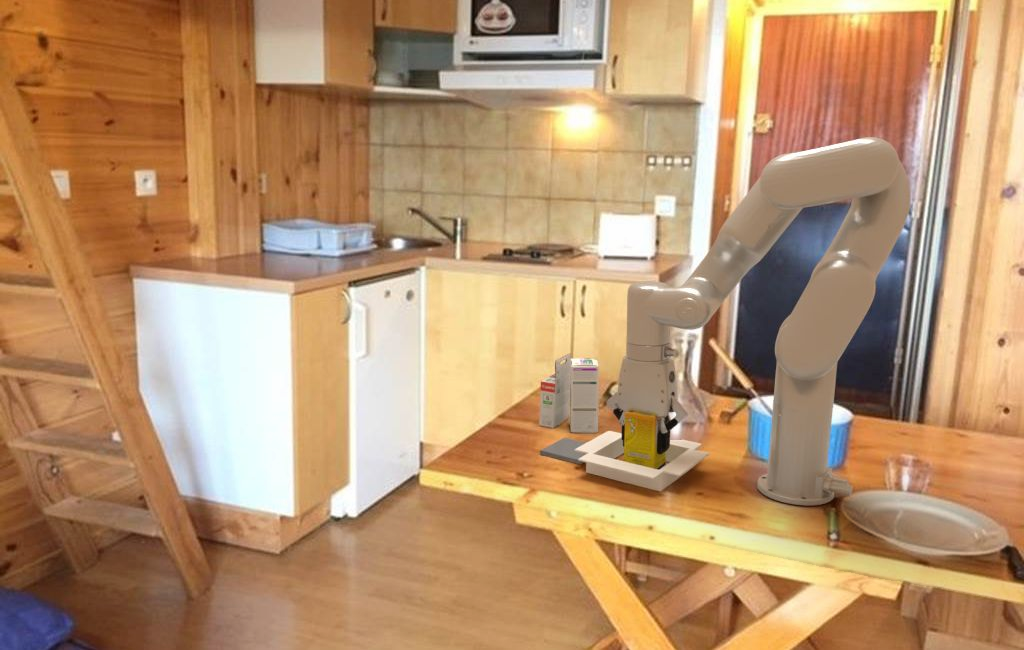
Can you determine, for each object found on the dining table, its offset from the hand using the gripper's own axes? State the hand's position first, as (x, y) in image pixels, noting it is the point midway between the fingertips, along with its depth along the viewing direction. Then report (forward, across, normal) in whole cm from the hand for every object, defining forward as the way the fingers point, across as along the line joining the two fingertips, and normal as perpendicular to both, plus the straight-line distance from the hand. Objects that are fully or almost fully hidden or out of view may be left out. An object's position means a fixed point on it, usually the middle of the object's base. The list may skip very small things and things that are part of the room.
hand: (645, 447), depth 155 cm
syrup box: (+4, +21, -13) cm, 25 cm away
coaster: (+4, +15, 0) cm, 16 cm away
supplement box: (+4, 0, 0) cm, 4 cm away
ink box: (+4, +28, -13) cm, 31 cm away
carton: (+4, +1, 0) cm, 4 cm away
